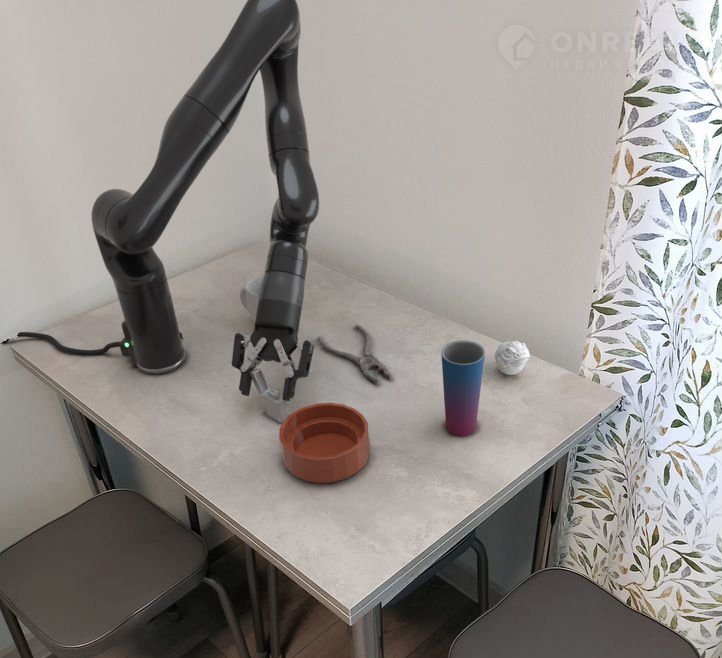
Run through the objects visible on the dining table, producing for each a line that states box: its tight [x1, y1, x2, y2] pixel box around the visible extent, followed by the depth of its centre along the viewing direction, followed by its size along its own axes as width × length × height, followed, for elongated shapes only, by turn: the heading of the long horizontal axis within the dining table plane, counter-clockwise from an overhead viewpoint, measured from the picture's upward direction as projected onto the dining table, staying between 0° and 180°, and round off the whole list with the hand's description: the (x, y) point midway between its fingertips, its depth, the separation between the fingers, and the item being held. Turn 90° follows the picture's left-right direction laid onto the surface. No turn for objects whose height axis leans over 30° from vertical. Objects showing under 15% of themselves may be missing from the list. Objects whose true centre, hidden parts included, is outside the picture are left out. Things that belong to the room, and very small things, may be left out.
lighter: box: [250, 368, 289, 424], centre depth 140 cm, size 7×2×8 cm, turn 45°
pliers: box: [317, 323, 391, 385], centre depth 154 cm, size 10×1×20 cm
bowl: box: [278, 402, 371, 484], centre depth 131 cm, size 14×14×6 cm
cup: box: [440, 339, 486, 437], centre depth 132 cm, size 7×7×15 cm
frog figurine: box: [494, 340, 531, 376], centre depth 145 cm, size 6×7×7 cm
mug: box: [239, 273, 265, 325], centre depth 161 cm, size 13×9×10 cm
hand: (265, 397), depth 138 cm, fingers closed on lighter, 7 cm apart
